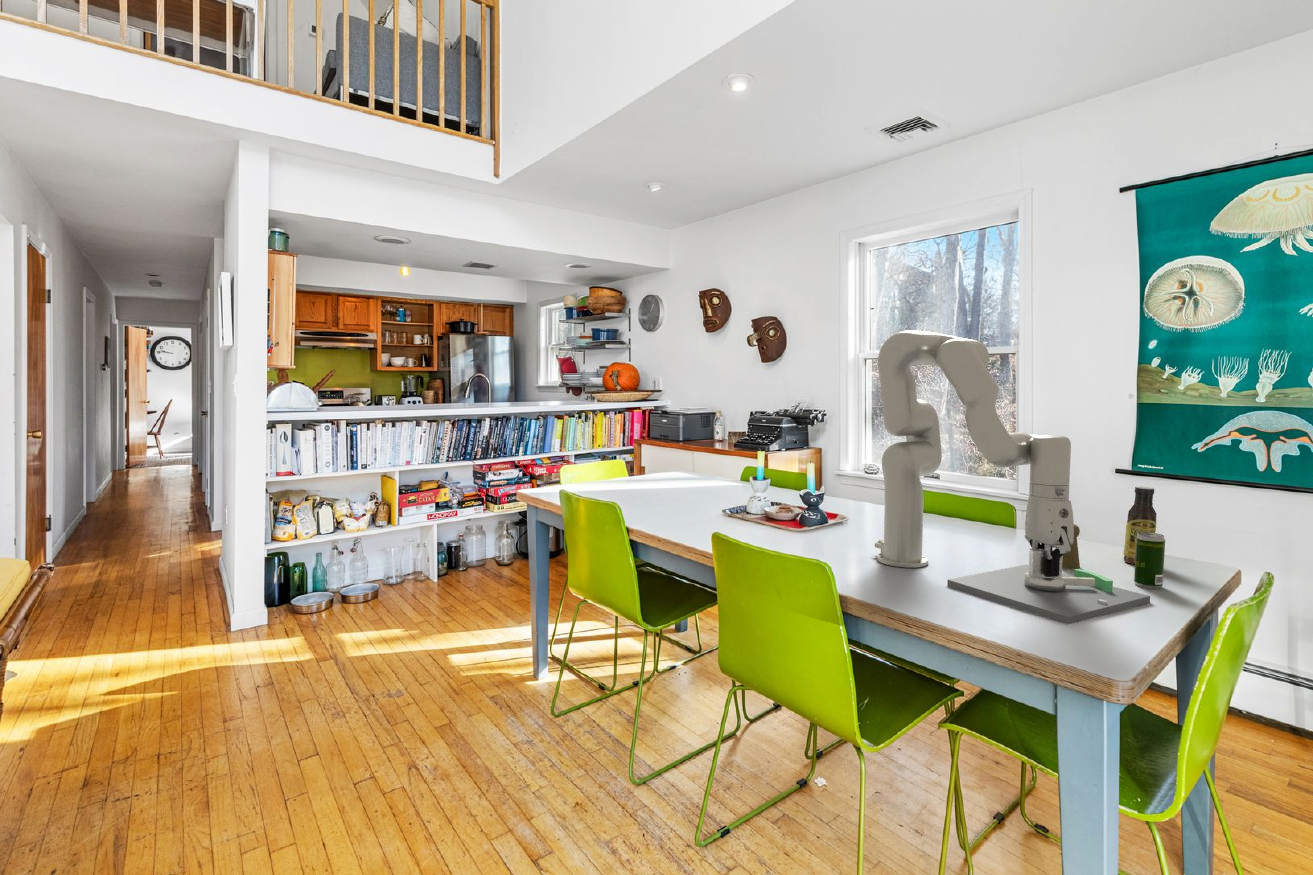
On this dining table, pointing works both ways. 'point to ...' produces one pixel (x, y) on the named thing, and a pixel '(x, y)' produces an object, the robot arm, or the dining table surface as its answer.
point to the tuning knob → (1042, 582)
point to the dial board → (1051, 594)
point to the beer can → (1149, 560)
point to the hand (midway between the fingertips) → (1045, 573)
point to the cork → (1072, 553)
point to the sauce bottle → (1139, 520)
